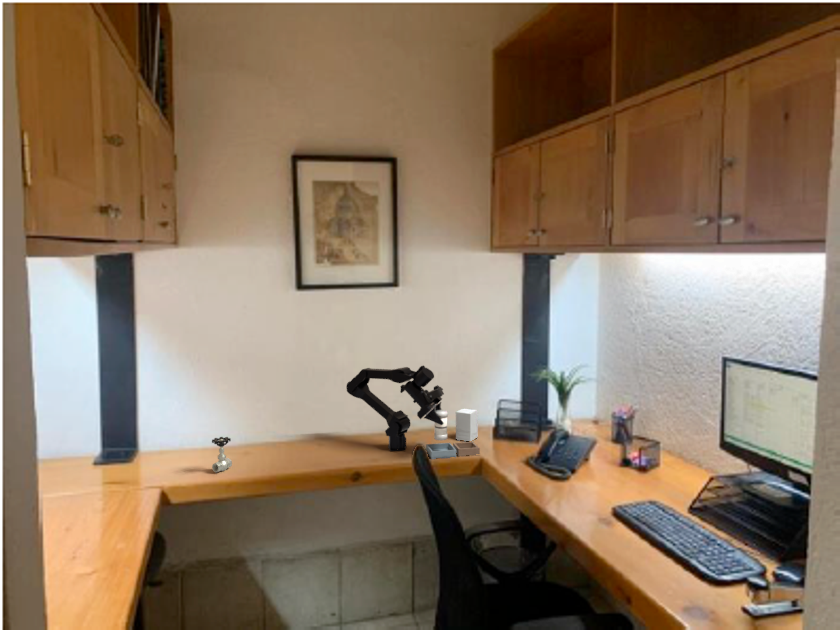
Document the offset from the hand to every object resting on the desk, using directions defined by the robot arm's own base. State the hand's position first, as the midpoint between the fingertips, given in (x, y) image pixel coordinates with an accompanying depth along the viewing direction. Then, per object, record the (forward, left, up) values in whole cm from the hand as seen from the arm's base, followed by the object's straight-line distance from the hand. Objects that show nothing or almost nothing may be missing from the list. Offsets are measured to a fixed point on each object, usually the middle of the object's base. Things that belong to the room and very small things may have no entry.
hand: (444, 422), depth 254 cm
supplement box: (+15, +19, -13) cm, 27 cm away
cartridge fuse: (-1, +1, -7) cm, 7 cm away
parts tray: (-1, +1, -13) cm, 13 cm away
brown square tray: (+9, +1, -13) cm, 16 cm away
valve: (-85, 0, -13) cm, 86 cm away
